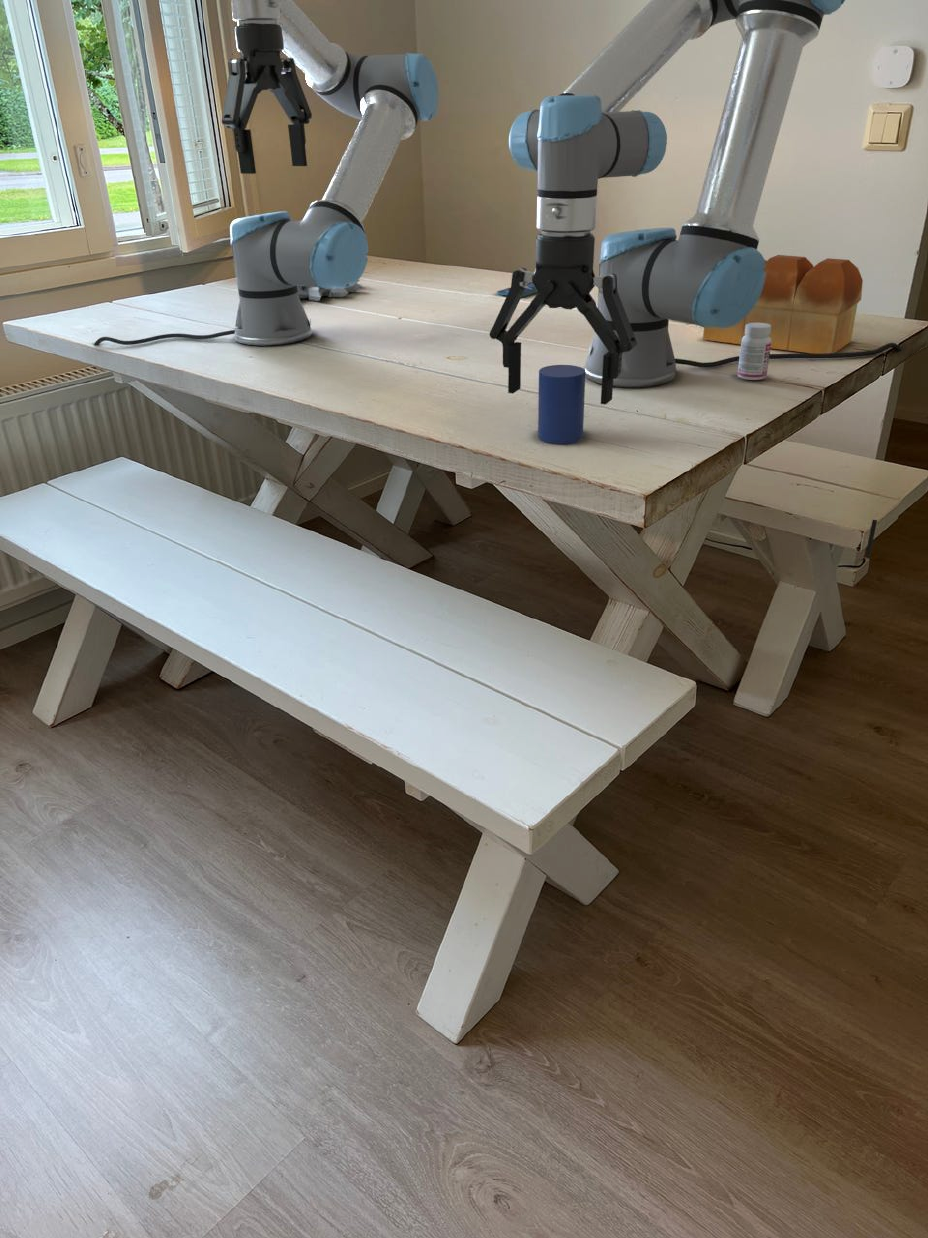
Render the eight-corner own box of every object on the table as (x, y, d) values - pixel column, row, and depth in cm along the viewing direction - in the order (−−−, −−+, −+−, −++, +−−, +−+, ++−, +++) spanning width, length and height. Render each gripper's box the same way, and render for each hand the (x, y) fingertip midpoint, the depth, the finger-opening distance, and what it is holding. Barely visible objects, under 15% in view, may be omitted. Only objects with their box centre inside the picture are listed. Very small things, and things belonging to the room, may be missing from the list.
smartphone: (494, 291, 222) (531, 280, 232) (494, 294, 222) (531, 283, 232) (521, 295, 218) (557, 283, 228) (521, 297, 218) (557, 286, 228)
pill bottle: (768, 380, 155) (775, 328, 150) (738, 380, 155) (744, 328, 151) (765, 372, 159) (772, 321, 155) (736, 372, 160) (742, 321, 155)
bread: (700, 339, 180) (707, 257, 172) (725, 326, 188) (734, 247, 181) (832, 356, 167) (847, 268, 159) (853, 341, 175) (868, 257, 168)
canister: (570, 447, 130) (572, 379, 126) (529, 439, 134) (530, 373, 129) (590, 433, 135) (593, 368, 130) (551, 426, 138) (552, 362, 133)
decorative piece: (302, 291, 211) (212, 280, 226) (304, 309, 213) (214, 296, 228) (388, 270, 232) (300, 260, 247) (389, 286, 234) (302, 276, 249)
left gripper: (221, 20, 140) (242, 177, 151) (323, 23, 159) (336, 163, 169) (184, 22, 143) (207, 176, 154) (289, 25, 162) (303, 162, 173)
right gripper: (465, 231, 122) (466, 393, 133) (652, 240, 113) (639, 413, 123) (488, 224, 128) (488, 380, 139) (669, 232, 119) (654, 398, 129)
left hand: (274, 169), depth 162 cm, fingers open, 13 cm apart
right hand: (559, 396), depth 131 cm, fingers open, 13 cm apart
